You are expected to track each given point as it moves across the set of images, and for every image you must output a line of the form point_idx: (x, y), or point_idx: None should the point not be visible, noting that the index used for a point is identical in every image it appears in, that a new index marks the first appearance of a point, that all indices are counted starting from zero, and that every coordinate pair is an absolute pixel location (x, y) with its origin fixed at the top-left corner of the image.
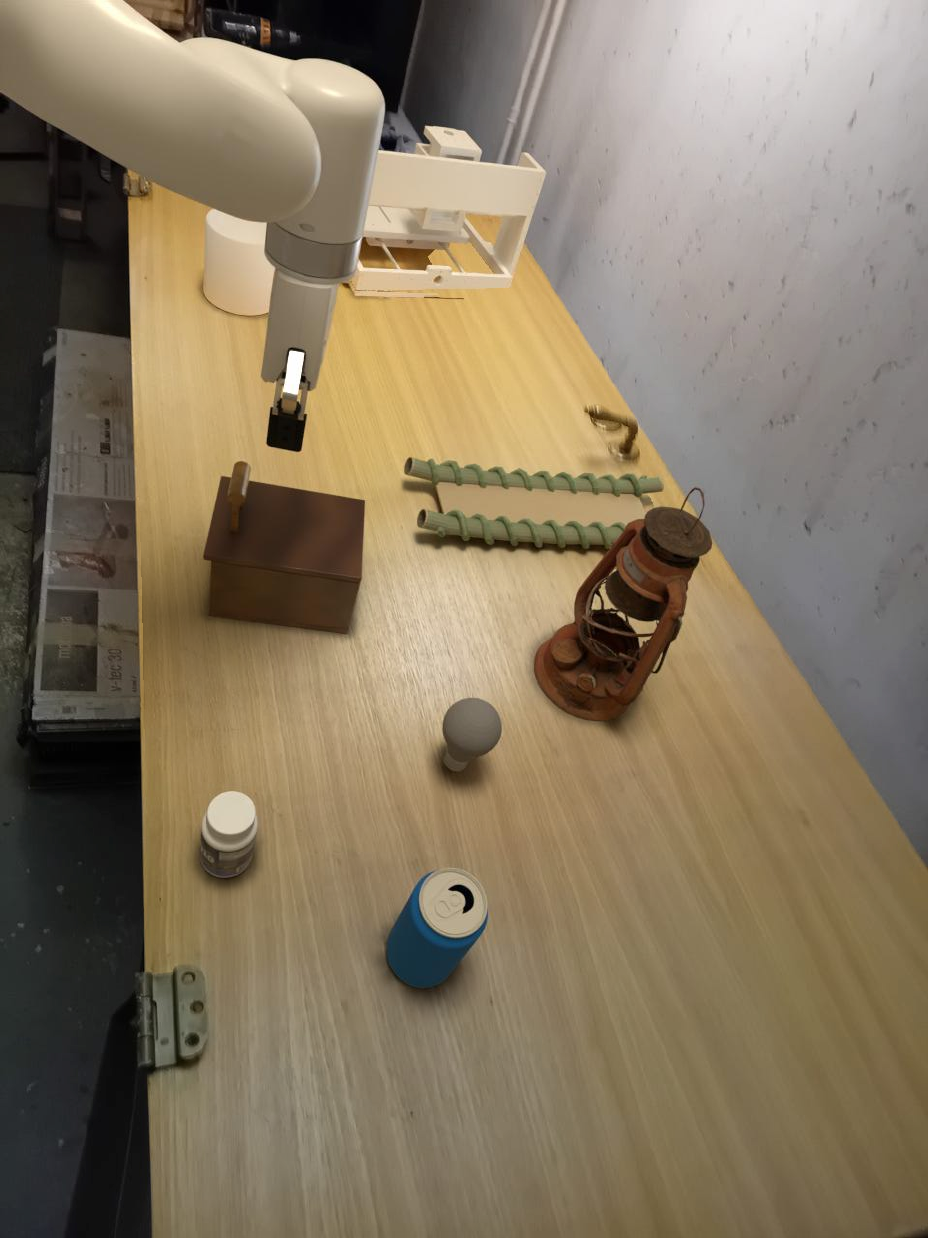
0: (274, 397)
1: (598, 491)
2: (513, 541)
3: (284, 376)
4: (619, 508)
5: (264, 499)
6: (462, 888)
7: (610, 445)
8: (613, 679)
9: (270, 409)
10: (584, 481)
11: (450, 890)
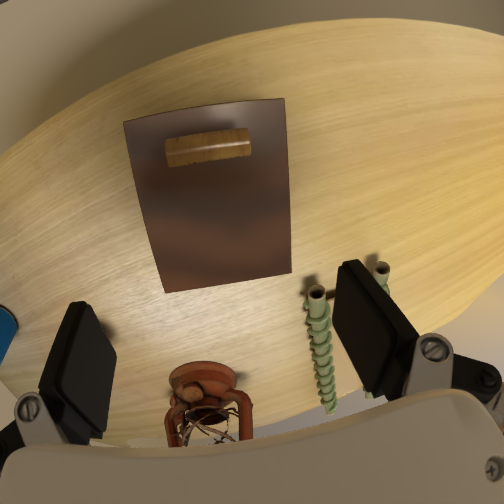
0: (22, 438)
1: None
2: (310, 345)
3: (350, 291)
4: (351, 383)
5: (254, 162)
6: (2, 358)
7: None
8: (183, 409)
9: (40, 387)
10: None
11: (4, 349)
